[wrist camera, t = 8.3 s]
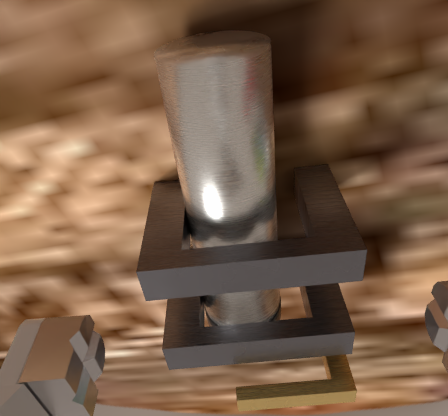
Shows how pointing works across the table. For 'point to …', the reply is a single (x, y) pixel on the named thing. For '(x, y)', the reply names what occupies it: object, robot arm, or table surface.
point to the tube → (224, 151)
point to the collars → (259, 280)
